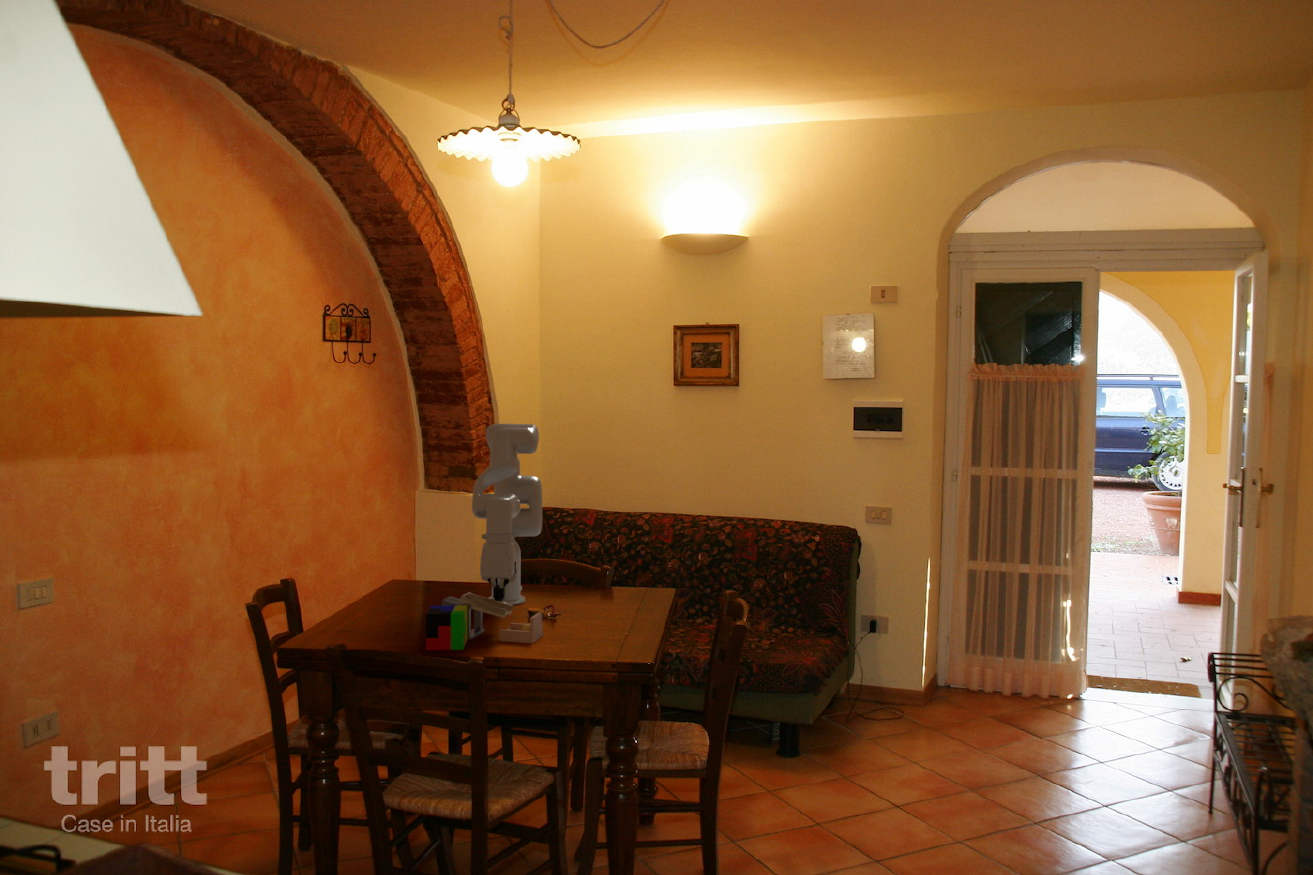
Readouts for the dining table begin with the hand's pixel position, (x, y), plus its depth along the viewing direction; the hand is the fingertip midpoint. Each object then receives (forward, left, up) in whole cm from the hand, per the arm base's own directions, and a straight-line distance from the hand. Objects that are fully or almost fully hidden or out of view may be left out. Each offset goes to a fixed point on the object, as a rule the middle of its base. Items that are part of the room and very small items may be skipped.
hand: (498, 600), depth 277 cm
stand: (+6, -6, -9) cm, 12 cm away
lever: (+3, -5, -5) cm, 8 cm away
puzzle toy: (+18, -8, -9) cm, 22 cm away
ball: (+6, +11, -7) cm, 15 cm away
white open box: (+6, +9, -9) cm, 14 cm away
